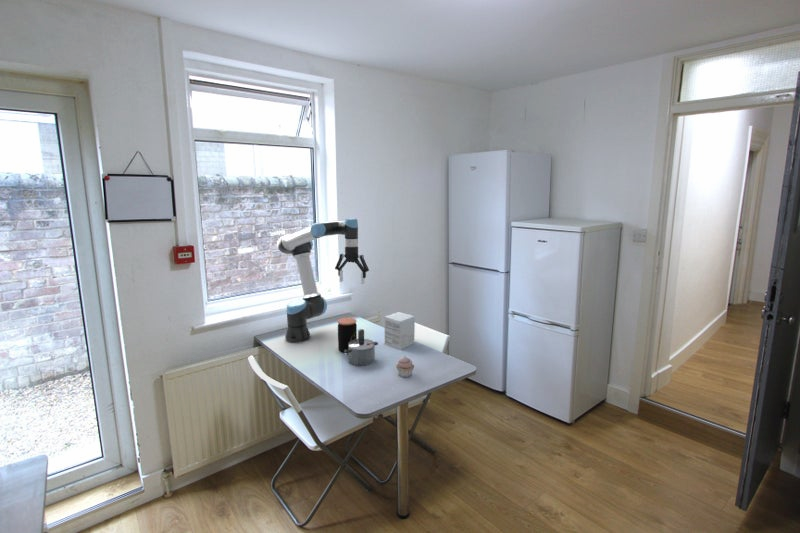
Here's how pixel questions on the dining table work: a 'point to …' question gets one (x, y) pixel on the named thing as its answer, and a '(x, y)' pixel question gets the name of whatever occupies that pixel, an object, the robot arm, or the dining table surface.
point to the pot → (361, 356)
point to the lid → (361, 342)
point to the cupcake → (405, 367)
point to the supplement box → (399, 330)
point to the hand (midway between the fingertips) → (352, 282)
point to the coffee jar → (346, 332)
